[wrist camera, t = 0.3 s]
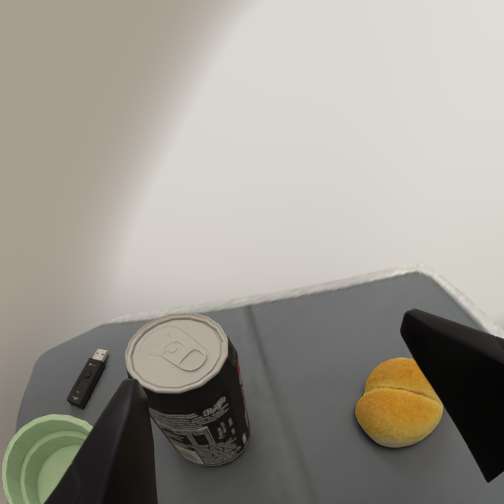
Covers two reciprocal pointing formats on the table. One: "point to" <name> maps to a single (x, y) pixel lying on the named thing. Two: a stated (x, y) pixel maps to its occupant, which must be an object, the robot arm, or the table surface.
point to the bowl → (41, 457)
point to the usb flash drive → (87, 379)
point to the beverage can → (192, 386)
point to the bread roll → (398, 404)
